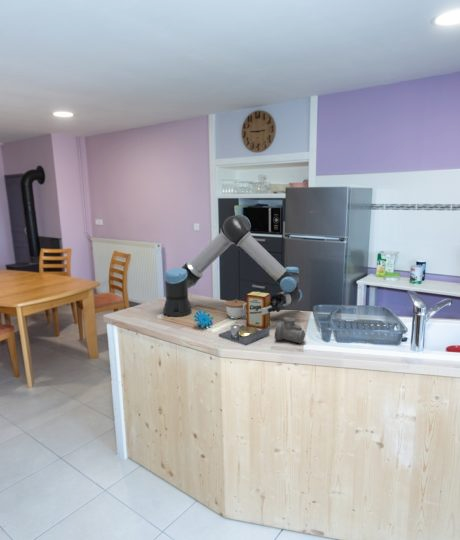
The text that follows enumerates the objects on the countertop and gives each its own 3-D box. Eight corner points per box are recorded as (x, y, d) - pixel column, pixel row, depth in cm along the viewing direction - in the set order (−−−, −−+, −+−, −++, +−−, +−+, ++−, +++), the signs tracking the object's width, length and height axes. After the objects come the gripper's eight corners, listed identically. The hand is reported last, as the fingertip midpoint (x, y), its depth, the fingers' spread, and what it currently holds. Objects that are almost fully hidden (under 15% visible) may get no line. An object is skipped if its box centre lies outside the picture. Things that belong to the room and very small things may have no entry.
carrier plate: (218, 336, 172) (218, 323, 171) (242, 327, 184) (242, 315, 183) (246, 345, 162) (246, 331, 161) (269, 335, 173) (269, 322, 172)
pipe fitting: (272, 341, 165) (275, 318, 163) (278, 336, 172) (282, 314, 170) (299, 348, 160) (303, 325, 158) (304, 343, 167) (308, 321, 165)
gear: (199, 328, 179) (192, 309, 184) (193, 334, 182) (187, 316, 187) (218, 326, 186) (211, 308, 190) (212, 332, 189) (205, 315, 194)
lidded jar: (221, 317, 200) (221, 299, 199) (237, 312, 207) (236, 295, 206) (235, 321, 192) (235, 303, 191) (250, 317, 199) (250, 299, 198)
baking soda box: (270, 325, 187) (270, 292, 184) (264, 329, 181) (265, 295, 178) (252, 322, 191) (252, 290, 188) (246, 326, 186) (246, 293, 183)
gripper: (299, 311, 191) (272, 322, 175) (262, 303, 206) (234, 312, 190) (300, 296, 189) (273, 306, 173) (262, 289, 205) (234, 297, 189)
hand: (253, 309), depth 182 cm, fingers closed on baking soda box, 11 cm apart
